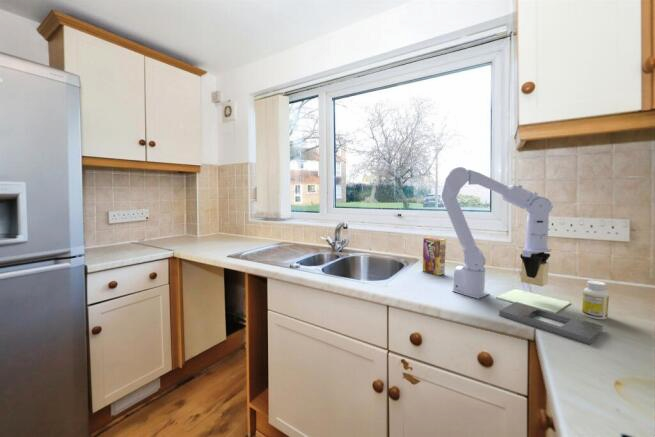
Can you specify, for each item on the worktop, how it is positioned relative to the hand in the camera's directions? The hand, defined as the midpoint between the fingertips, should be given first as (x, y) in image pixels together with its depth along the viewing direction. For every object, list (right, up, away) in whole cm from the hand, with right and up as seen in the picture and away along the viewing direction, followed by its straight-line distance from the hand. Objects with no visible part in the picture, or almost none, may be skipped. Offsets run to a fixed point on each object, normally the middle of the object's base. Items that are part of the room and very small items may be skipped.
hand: (534, 275), depth 94 cm
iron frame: (-7, -10, -15) cm, 19 cm away
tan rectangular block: (0, -2, 0) cm, 2 cm away
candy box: (-20, -6, +34) cm, 40 cm away
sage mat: (0, -8, +1) cm, 8 cm away
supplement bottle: (+9, -10, -11) cm, 17 cm away
